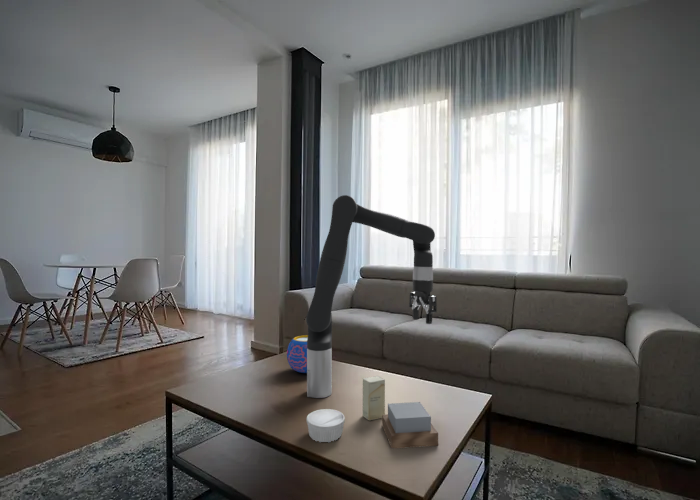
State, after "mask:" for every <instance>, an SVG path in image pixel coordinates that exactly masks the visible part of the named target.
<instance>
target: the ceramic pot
mask: <svg viewBox="0 0 700 500" xmlns="http://www.w3.org/2000/svg"><path fill="white" fill-rule="evenodd" d="M307 338H308V334H305V335H298V336H295V337H293V338H292V339H291V340H290V342H289V343H288V346H287V351H286V359H287V362H288V365H289V367H290V368H291V369H292V370H293V371H295V372H297V373H301V374H307Z"/></svg>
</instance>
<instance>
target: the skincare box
mask: <svg viewBox="0 0 700 500" xmlns="http://www.w3.org/2000/svg"><path fill="white" fill-rule="evenodd" d="M385 389H386V379H385V378H382V377H381V376H379V375H376V376H369V377H363V378H362V417H364V418H365V419H366V420H368V421H374V420H377V419H378V420H379V419H382V415H386V411H385V410H386V394H385V393H386V390H385Z"/></svg>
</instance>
